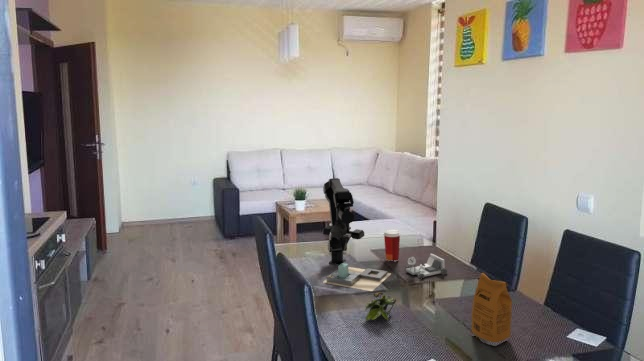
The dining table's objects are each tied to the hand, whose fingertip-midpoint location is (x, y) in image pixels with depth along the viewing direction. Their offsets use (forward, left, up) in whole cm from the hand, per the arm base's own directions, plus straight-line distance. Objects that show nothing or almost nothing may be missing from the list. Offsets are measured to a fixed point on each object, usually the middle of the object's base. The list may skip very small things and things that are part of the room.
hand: (343, 250), depth 236 cm
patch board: (+4, +8, -12) cm, 15 cm away
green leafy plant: (+34, +33, -12) cm, 49 cm away
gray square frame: (-2, +14, -12) cm, 18 cm away
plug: (+8, +4, -11) cm, 14 cm away
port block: (+8, +4, -12) cm, 15 cm away
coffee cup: (-25, +14, -12) cm, 31 cm away
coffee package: (+33, +72, -12) cm, 80 cm away
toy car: (-16, +33, -12) cm, 38 cm away
